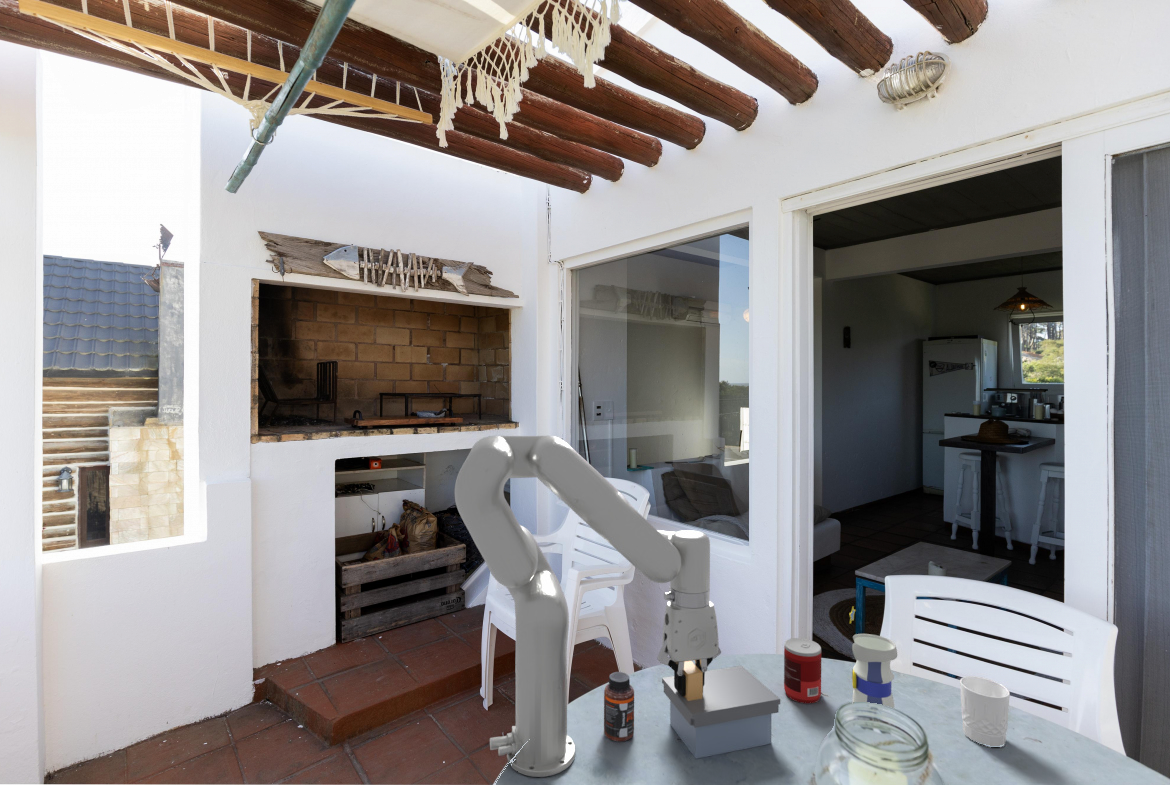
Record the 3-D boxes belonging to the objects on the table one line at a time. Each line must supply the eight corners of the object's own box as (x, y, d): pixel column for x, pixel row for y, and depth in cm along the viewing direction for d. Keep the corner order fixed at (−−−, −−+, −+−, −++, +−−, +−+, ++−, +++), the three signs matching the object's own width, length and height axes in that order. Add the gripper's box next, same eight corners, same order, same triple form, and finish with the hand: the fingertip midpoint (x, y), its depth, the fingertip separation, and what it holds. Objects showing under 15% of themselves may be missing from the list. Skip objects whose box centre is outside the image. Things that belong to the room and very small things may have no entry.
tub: (695, 758, 103) (696, 715, 103) (670, 724, 114) (670, 685, 114) (771, 743, 108) (771, 701, 108) (739, 711, 118) (740, 673, 118)
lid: (692, 728, 102) (692, 686, 101) (662, 689, 114) (662, 653, 114) (780, 712, 107) (780, 672, 107) (741, 677, 120) (741, 642, 120)
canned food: (824, 691, 126) (824, 642, 126) (817, 708, 119) (817, 656, 119) (788, 681, 130) (788, 634, 130) (780, 697, 124) (780, 648, 123)
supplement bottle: (632, 745, 107) (632, 686, 107) (601, 741, 108) (601, 682, 108) (635, 726, 113) (635, 670, 113) (606, 723, 114) (606, 667, 114)
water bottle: (849, 749, 106) (850, 617, 106) (847, 724, 114) (848, 601, 114) (899, 760, 103) (900, 624, 102) (893, 734, 111) (894, 607, 110)
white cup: (965, 720, 115) (965, 672, 115) (1012, 737, 110) (1013, 686, 109) (955, 737, 110) (955, 686, 110) (1005, 756, 104) (1005, 702, 104)
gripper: (658, 608, 103) (658, 708, 103) (737, 599, 107) (737, 695, 107) (643, 593, 110) (642, 687, 110) (717, 585, 115) (717, 675, 115)
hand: (689, 690), depth 109 cm, fingers closed on lid, 3 cm apart
